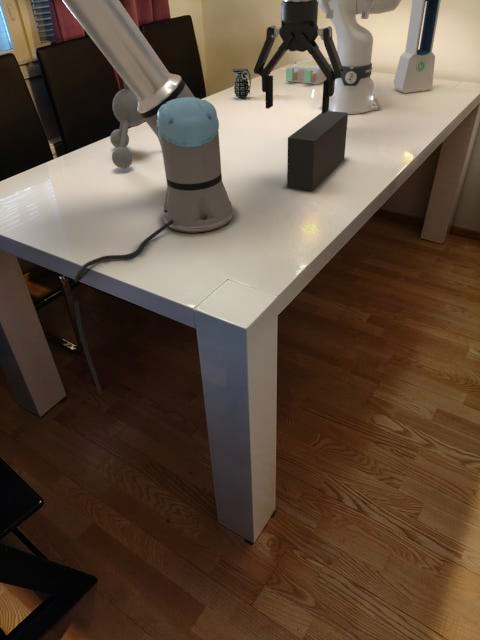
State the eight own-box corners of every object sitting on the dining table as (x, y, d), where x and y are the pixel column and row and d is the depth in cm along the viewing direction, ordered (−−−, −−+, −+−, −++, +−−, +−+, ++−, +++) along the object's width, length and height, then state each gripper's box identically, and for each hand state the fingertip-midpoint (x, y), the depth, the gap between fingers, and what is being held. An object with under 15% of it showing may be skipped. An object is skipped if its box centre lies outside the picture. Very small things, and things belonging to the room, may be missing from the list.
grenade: (232, 99, 186) (230, 70, 180) (236, 95, 190) (234, 67, 184) (249, 99, 184) (248, 70, 178) (252, 96, 189) (251, 67, 182)
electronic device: (402, 93, 181) (416, -3, 162) (392, 89, 186) (404, -5, 168) (432, 89, 183) (449, -6, 165) (421, 85, 189) (436, -8, 170)
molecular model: (194, 159, 136) (181, 36, 117) (116, 174, 130) (89, 47, 112) (172, 136, 153) (158, 26, 135) (102, 148, 148) (77, 35, 129)
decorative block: (308, 54, 216) (349, 57, 207) (307, 70, 220) (348, 74, 211) (277, 65, 200) (320, 69, 191) (277, 82, 204) (319, 87, 195)
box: (312, 191, 115) (314, 140, 108) (287, 187, 118) (287, 137, 111) (344, 159, 131) (348, 112, 124) (321, 156, 134) (324, 110, 127)
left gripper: (365, -3, 97) (354, 109, 110) (251, -3, 106) (253, 101, 119) (355, 1, 92) (345, 118, 105) (236, 1, 101) (240, 109, 114)
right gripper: (398, -51, 116) (390, 17, 124) (317, -48, 124) (314, 16, 132) (391, -50, 111) (383, 20, 120) (308, -46, 119) (306, 19, 128)
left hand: (296, 109), depth 112 cm, fingers open, 13 cm apart
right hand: (346, 18), depth 126 cm, fingers open, 8 cm apart
